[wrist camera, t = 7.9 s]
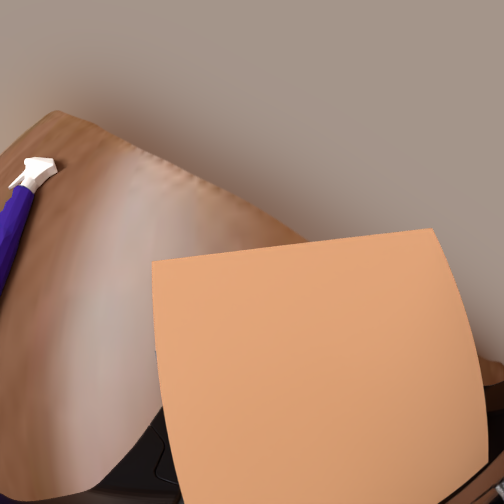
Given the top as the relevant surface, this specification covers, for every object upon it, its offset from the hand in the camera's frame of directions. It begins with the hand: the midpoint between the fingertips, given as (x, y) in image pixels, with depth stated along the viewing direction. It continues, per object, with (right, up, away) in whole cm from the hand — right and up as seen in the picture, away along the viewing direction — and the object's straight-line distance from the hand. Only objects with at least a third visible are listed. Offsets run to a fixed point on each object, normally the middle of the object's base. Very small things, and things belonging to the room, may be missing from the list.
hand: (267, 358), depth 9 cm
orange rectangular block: (0, -4, +5) cm, 7 cm away
